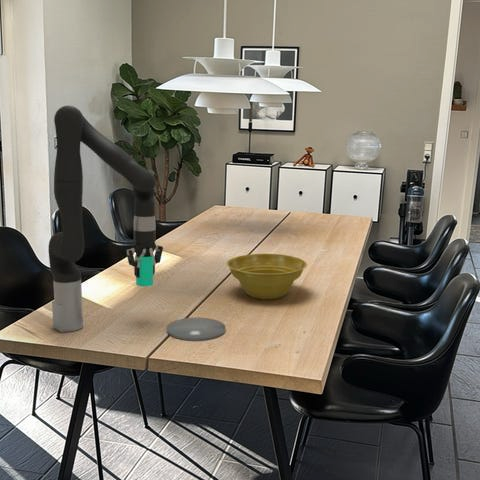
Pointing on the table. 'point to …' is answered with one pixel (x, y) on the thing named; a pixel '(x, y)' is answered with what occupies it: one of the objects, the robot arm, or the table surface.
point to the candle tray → (196, 329)
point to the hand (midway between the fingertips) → (144, 276)
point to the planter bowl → (266, 273)
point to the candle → (145, 271)
